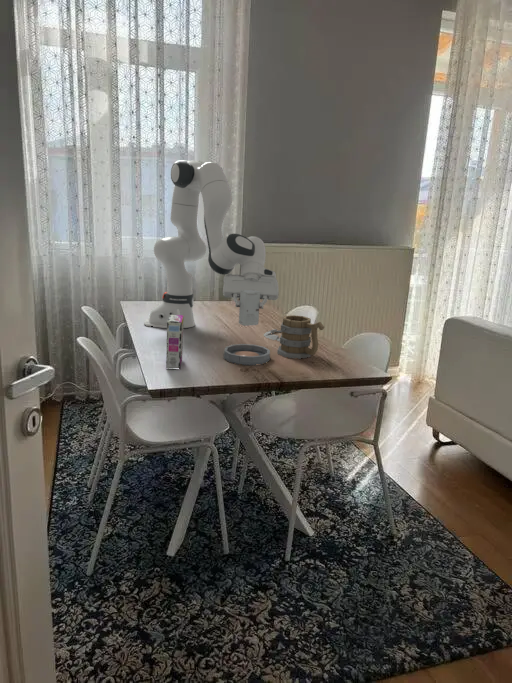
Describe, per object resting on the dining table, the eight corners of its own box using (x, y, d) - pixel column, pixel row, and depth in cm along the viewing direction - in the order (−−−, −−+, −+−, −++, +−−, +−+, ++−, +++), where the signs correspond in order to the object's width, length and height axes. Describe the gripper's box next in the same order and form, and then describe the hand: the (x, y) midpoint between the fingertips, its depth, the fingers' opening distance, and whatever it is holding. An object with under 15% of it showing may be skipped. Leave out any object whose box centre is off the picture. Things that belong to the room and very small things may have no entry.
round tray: (221, 363, 181) (221, 355, 180) (225, 350, 197) (226, 342, 196) (269, 366, 180) (270, 358, 180) (270, 353, 197) (270, 345, 196)
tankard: (271, 351, 199) (273, 313, 195) (296, 347, 207) (298, 310, 203) (305, 366, 184) (309, 325, 180) (331, 361, 191) (335, 322, 187)
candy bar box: (181, 370, 172) (182, 322, 167) (165, 369, 171) (166, 321, 167) (183, 360, 183) (184, 314, 178) (168, 359, 182) (169, 314, 178)
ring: (275, 344, 211) (276, 339, 210) (256, 332, 228) (256, 328, 227) (316, 341, 219) (317, 337, 218) (295, 330, 236) (295, 326, 235)
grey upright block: (244, 326, 182) (246, 292, 179) (238, 323, 186) (239, 290, 182) (259, 324, 185) (261, 291, 182) (252, 322, 189) (254, 289, 186)
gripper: (223, 268, 188) (219, 300, 181) (279, 272, 187) (278, 303, 180) (224, 279, 193) (220, 310, 186) (279, 282, 193) (277, 313, 186)
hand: (249, 307), depth 183 cm, fingers closed on grey upright block, 7 cm apart
